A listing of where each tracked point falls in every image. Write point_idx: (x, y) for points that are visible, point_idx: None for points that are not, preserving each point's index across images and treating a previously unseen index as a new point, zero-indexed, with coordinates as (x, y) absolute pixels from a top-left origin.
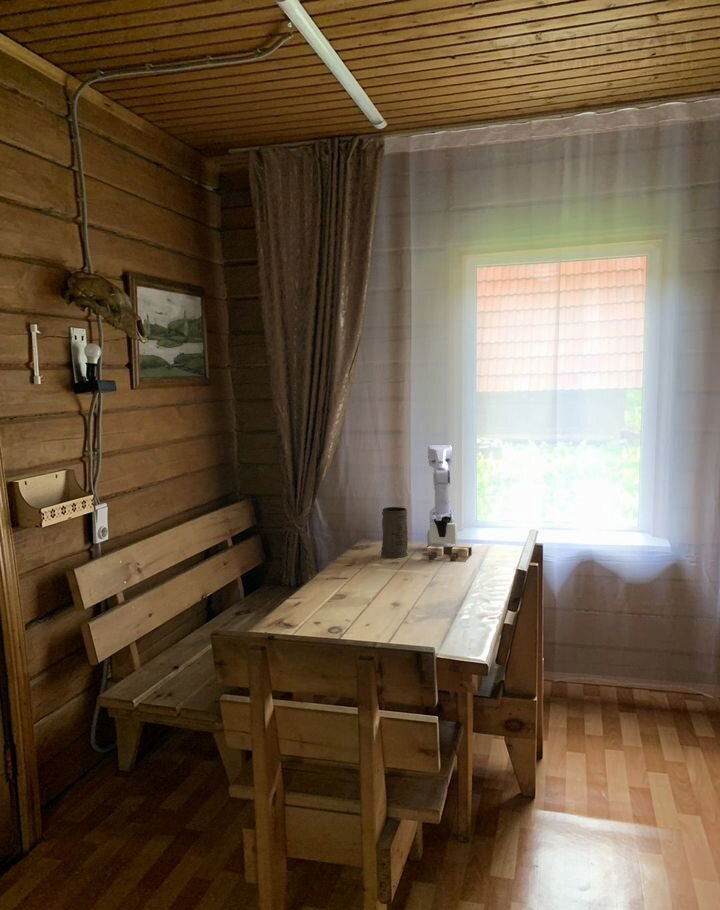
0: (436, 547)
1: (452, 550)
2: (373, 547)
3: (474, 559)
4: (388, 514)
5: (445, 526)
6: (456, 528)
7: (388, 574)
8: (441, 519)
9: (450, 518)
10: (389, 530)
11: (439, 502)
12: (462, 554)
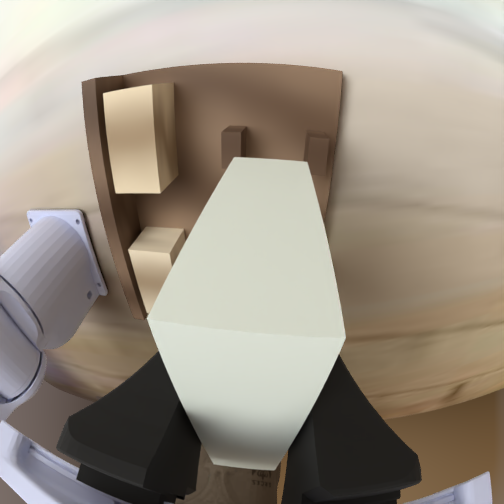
0: (158, 281)
1: (165, 184)
2: None
3: (183, 38)
4: None
5: (365, 401)
6: (198, 240)
7: (466, 339)
8: (473, 487)
9: (148, 472)
10: (279, 469)
11: None
12: (169, 112)
